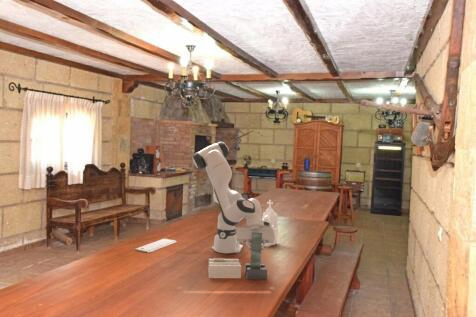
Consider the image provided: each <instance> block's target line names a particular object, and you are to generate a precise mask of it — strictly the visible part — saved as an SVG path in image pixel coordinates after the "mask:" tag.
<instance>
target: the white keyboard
mask: <svg viewBox="0 0 476 317" xmlns="http://www.w3.org/2000/svg"><path fill="white" fill-rule="evenodd" d="M176 243H178V241H176V240H175V239H168V238H162V239H159V240H156V241H154V242H150V243H147V244H145V245H142V246H139V247H135V248H134V251H136V252H141V253H147V254H150V253H153V252H155V251H158V250H160V249H163V248H165V247H169V246H170V245H173V244H176Z"/></svg>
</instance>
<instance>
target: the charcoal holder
mask: <svg viewBox="0 0 476 317" xmlns="http://www.w3.org/2000/svg"><path fill="white" fill-rule="evenodd" d="M244 275H245V277H246V280H251V281H252V280H254V281H255V280H256V281H257V280H259V281H261V280H265V281H266V280H268V268H267V267H266V264H265V263H264V262H263V263H262V262H261V266H260V268H250V262H248V263H247V262H245V264H244Z"/></svg>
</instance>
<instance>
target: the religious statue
mask: <svg viewBox="0 0 476 317" xmlns="http://www.w3.org/2000/svg"><path fill="white" fill-rule="evenodd" d="M266 204H267V205H268V207H267V208H266V210H265V211H264V212H262V216H261V218H262V220H263V221H266V222H269V223H271V225H272V226H271V228H272V229H273V230H274V234H275V241H274V242H273V243H266V244H265V246H264V247H266V248H268V247H271V246H274V245H276V244H277V243H278V232H279V228H278V217H279V214H278V213H277V212H276V211H274V209H273V207H272V206H273V205H274V202H273V201H272V199H268V201H266ZM262 245H263V243H262Z"/></svg>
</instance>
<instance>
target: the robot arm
mask: <svg viewBox="0 0 476 317" xmlns="http://www.w3.org/2000/svg"><path fill="white" fill-rule="evenodd" d="M229 155H230V149H229V147H228V145H227V144H226V143H225V142H223V141H218V142H216V143H213V144H211V145H208V146H206V147H204V148H203V149H201V150H200V151H197V152H195V153H194V154H193V155H192V163H193V164H194V166H195V168H197V170H205V171H206V174H207V176H208V179H209V180H210V183H211V185H212V189H213V195H212V197H213V200H214V202H216V203H217V205H218V206H219V207H220V208H219V209H220V213H219V214H218V216H217V228H216V235H215V236H214V239H213V240H214V241H213V245H212V247H211V249H212V250H213V251H214V252H216V253H219V254H220V253H221V254H234V253H237V254H239V253H240V252H241V250H242V249H243V246H244V245H243V244H240V243H244V244H245V245H246V246H247V247H248V250H250V251H251V249H252V245H251V240H252V232H262V243H263V245H262V246H261V251H264V250H265V247H266V246H265V244H266V243H273V242H274V241H275V234H274V230H273V229H272V228H271V226H272V225H271V223H269V222H266V221H263V220H262V217H263V212H262V207H261V206H262V205H261V203H260V201H259V200H258V199H257V198H255V197H254V198H252V197H251V198H248V199H247V198H243V196H242V194H241V193H240V192H238V191H236V190H234V189H232V188H230V187H229V184H230V181H231V180H232V176H233V171H232V168H231V167H230V164H229V162H228V160H227V158H228V157H229ZM243 219H245V222H246V224H245V225H238V224H240V222H241V221H242V220H243ZM237 225H238V226H237Z"/></svg>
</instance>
